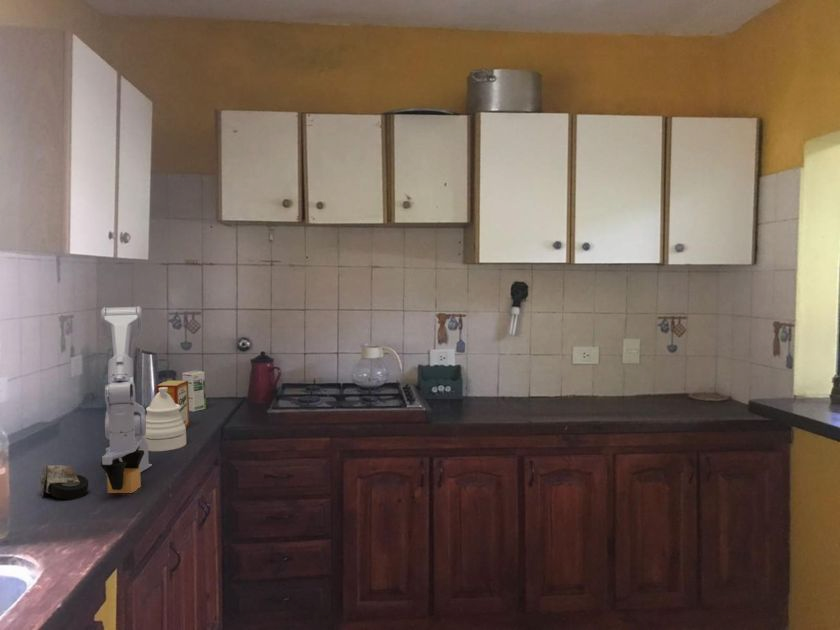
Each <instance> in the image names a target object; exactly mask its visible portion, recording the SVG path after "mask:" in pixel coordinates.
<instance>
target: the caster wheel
mask: <svg viewBox="0 0 840 630" xmlns="http://www.w3.org/2000/svg"><path fill="white" fill-rule="evenodd" d="M42 469H43V470H42V474H41V476H40V480H39V481H40V491H41V498H42V497H44V492H46V493H47V494H48V495H51V496H53V497H55V498H57V499H60V500H61V499H62V500H73V499H72V498H75V499H78V498H77V497H79V498H81V497H80V496H82V495H84V494H85V495H86V494H87V493H88V490H89V489H88V488H89V483H90V481H89V479H88V478H86V477H85V476H83V475H80V474H77V472H76V469H74V467H72V466H71V465H66V464H65V465H64V464H63V465H46V461H43V468H42ZM85 495H84V496H85ZM82 497H83V496H82Z"/></svg>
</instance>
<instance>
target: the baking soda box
mask: <svg viewBox="0 0 840 630" xmlns="http://www.w3.org/2000/svg"><path fill="white" fill-rule="evenodd" d="M161 387H167V388H168V390H167V393H168V394H169V395H170V396H171V397H172V399H173V400H174V402H175V404H178V405H180V406H181V409H180V410H179V413H180V415H181V416H182V420H183V423H184V425H185V427H186V429H188V427H190V423H191V422H190V411H189V395H188V380H183V379H181V380H178V379H177V380H173V379H172V380H167V381H163V382H161V383H159V384H157V385H156V394H157V393H159V388H161Z"/></svg>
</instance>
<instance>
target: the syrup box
mask: <svg viewBox="0 0 840 630" xmlns="http://www.w3.org/2000/svg"><path fill="white" fill-rule="evenodd" d="M205 375H206V374H205V371H203V370H192V371H186V372H182V380H188V395H189V412H198V411H202V410H206V409H207V401H206V380H205Z"/></svg>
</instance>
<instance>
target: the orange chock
mask: <svg viewBox="0 0 840 630" xmlns="http://www.w3.org/2000/svg"><path fill="white" fill-rule="evenodd" d="M141 477H142V476H141V473H140V469H136V468H125V469H124V474H123V486H122V489H121V490H113V489H112V487H111V484H110V481H109V478H108V476H107V475H106V482H107V485H106V486H107V494H108V493H132V492H134V491H136V490H137V489H138V488H140V487H141V488H142V484H141V483H142V482H141V481H142V479H141ZM141 488H140V489H141ZM137 491H138V490H137ZM137 491H136V492H137ZM134 493H135V492H134Z"/></svg>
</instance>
